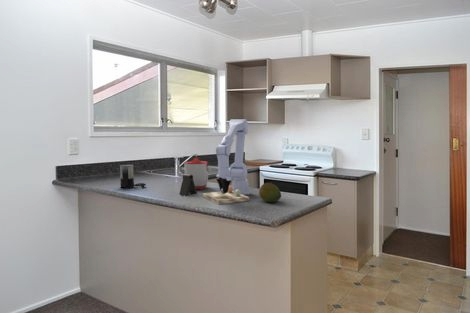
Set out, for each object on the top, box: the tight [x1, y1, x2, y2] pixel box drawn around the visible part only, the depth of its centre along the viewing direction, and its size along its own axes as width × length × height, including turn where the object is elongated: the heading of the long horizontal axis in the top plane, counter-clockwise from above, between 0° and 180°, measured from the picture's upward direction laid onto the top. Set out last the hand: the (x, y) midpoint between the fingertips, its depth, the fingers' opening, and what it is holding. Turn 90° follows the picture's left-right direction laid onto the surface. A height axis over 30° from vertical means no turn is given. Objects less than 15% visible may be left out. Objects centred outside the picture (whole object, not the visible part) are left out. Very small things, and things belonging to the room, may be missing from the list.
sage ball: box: [235, 189, 241, 196], centre depth 204 cm, size 4×4×4 cm
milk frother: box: [119, 164, 147, 189], centre depth 246 cm, size 14×16×15 cm
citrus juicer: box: [183, 157, 212, 190], centre depth 239 cm, size 16×17×20 cm
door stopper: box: [178, 173, 198, 197], centre depth 220 cm, size 9×6×12 cm, turn 138°
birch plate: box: [202, 191, 250, 205], centre depth 206 cm, size 18×22×2 cm
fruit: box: [258, 182, 282, 203], centre depth 196 cm, size 12×13×10 cm
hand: (223, 192), depth 200 cm, fingers closed on steel ball, 3 cm apart
